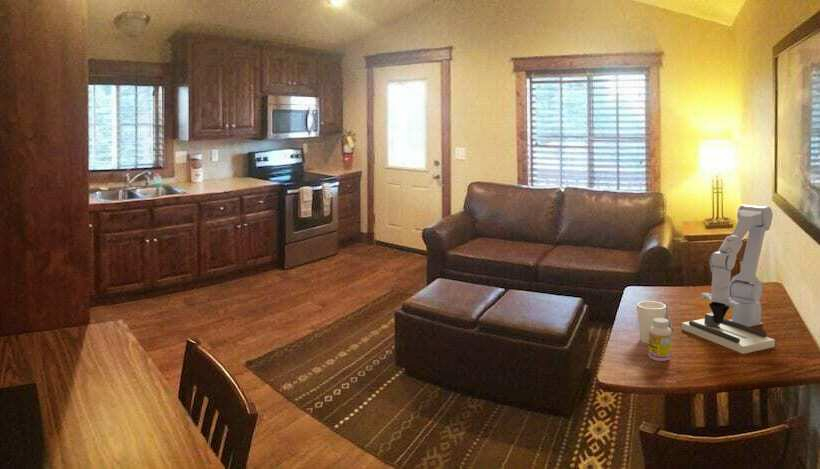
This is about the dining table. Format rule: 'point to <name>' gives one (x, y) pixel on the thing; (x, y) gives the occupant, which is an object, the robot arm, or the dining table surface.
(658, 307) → the foam cup
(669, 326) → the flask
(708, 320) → the block
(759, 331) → the dark grey guard rails
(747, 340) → the panel
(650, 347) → the supplement bottle
